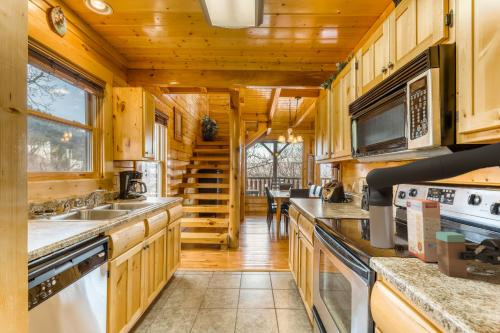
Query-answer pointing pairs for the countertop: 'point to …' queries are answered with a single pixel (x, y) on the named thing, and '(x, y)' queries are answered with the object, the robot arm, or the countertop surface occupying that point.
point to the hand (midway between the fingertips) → (449, 251)
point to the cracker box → (423, 228)
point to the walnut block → (451, 254)
